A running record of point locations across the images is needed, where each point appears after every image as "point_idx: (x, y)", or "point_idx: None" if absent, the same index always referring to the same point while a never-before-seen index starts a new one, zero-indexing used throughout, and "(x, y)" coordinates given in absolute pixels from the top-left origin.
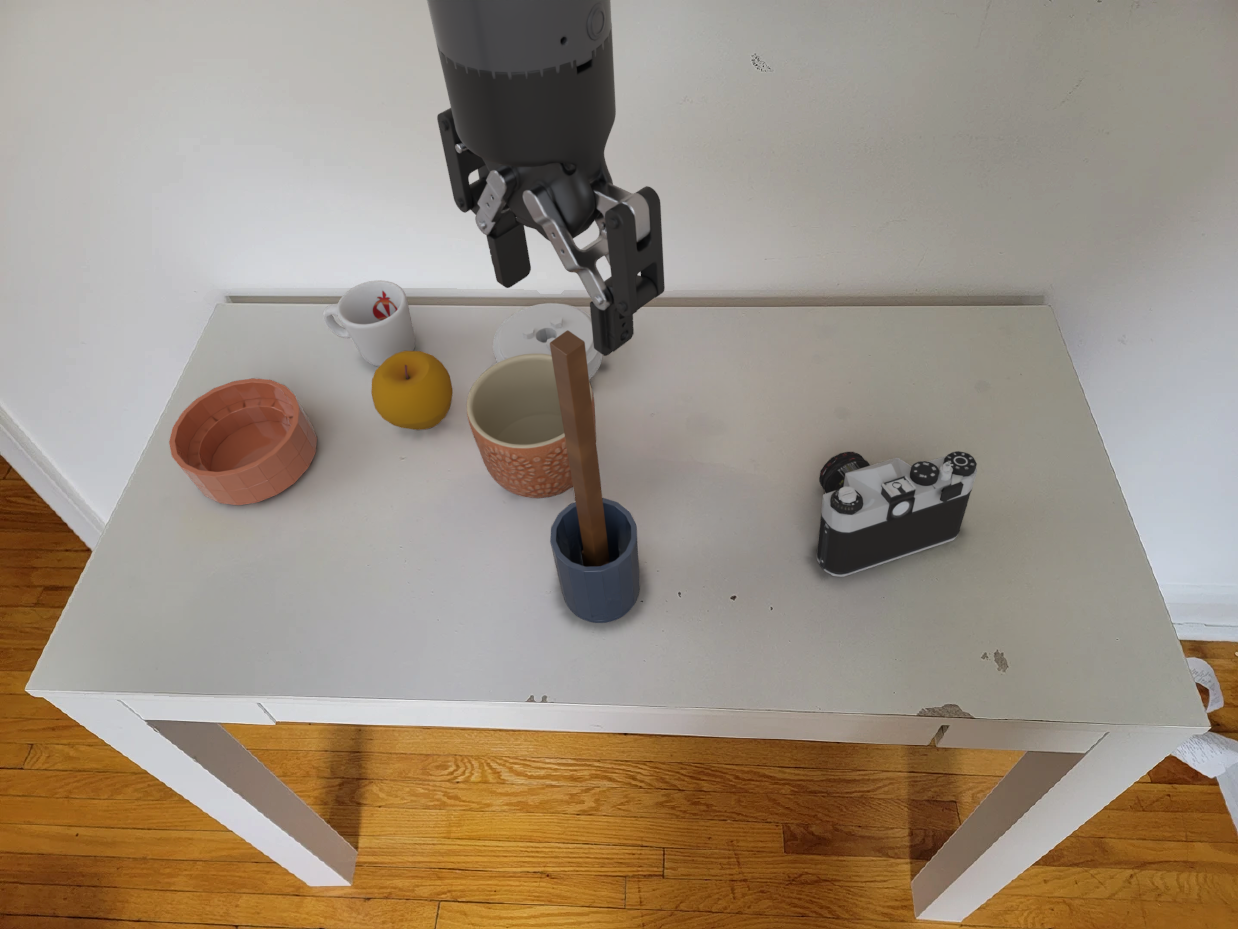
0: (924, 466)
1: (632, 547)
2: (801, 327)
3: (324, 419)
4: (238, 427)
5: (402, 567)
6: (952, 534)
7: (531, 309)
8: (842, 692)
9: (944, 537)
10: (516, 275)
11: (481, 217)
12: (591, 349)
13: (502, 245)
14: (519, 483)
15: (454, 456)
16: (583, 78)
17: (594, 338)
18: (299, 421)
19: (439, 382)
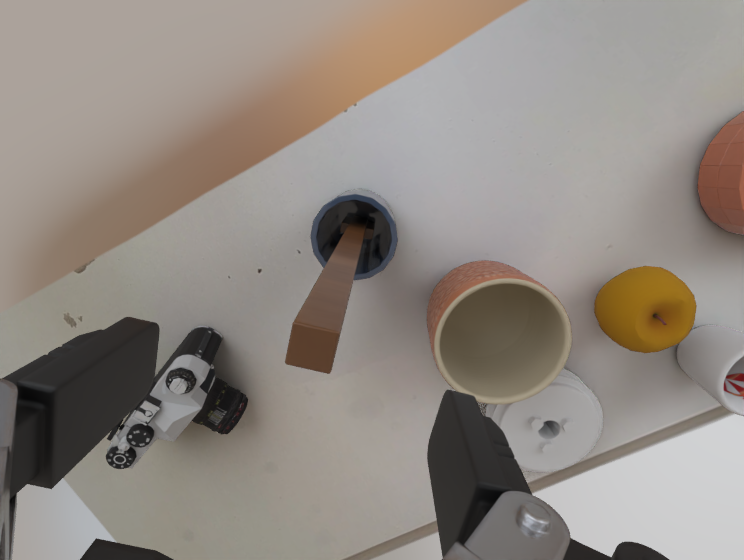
0: (141, 441)
1: (312, 243)
2: (344, 534)
3: (718, 245)
4: None
5: (536, 147)
6: None
7: (582, 451)
8: (149, 240)
9: None
10: (439, 427)
11: (539, 545)
12: None
13: (463, 478)
14: (471, 266)
15: (561, 273)
16: None
17: (130, 334)
18: (742, 213)
19: (617, 326)
